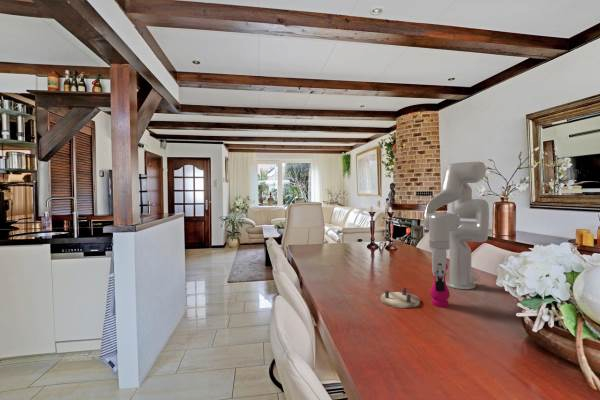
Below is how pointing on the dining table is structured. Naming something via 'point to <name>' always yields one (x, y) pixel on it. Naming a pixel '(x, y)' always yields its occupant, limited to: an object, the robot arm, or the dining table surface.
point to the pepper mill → (440, 293)
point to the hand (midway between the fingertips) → (439, 288)
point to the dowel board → (400, 299)
